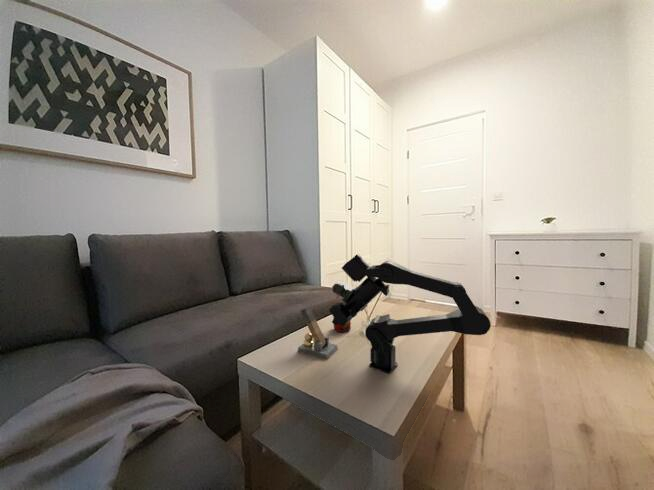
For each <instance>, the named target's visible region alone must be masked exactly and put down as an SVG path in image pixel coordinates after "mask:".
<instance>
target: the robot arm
mask: <svg viewBox="0 0 654 490" xmlns="http://www.w3.org/2000/svg"><path fill="white" fill-rule="evenodd" d="M341 270H343V272H344V273H345V274H346V275H347V276H348V277H349V278H350V279H351V281H352V282H354V283H357V282H358V283H360V282H361V283H360V284H359V285H358V286H356V287H354V286H353V285H351V284H349V283H347V282H345V281H344V280H342V279H340V280H338V281H337V280H336V282H335V283H334V284H333V285H332V286H331V287H332V291H331V292H333V293H334V294H336V295H337V294H338V296H339V295H340V296H339V297H341V298H342V301H341V302H340V303H338V302H336V303H334V304H333V305H331V306H330V307H329V309H328V311H329V313H330V314H331V316H333V317H334V319H332V321H331V323H332V324H333V325H334V324H338V323H339V324H340V325H341V326H344V325H345V324H346V323H348V322H349V321H350V320H351V321H352V319H353V318H355V317H356V316H357V315H358V313H360V312H363V311H365V310H366V308H367V307H368V304H369V303H371V302H372V301H373V299H375V298H376V297H377V296H378V295H379V294H381V293H382V294H383V295H384V296H385V297H387V296H388V295H389V293H390V284H393V285H407V286H411V287H414V288H418V289H421V290H425V291H428V292H432V293H435V294H437V295H440V296H445V297H449V298H451V299H453V301H454V303H455V304H456V306H457V309H455V310H453V311H451V312H449V313H447V314H438V315H430V316H428V315H427V316H421V317H414V318H413V317H412V318H405V319H403V318H402V319H394V318H391V315H390V314H389V313H388V314H384V315H376V316H375V317H374V318H372V319H371V321H370V322H369V324H368V325H367V327H366V329H365V337H366V339H367V340H368V341H369V342H370V345H371V348H370V353H369V354H370V362H369V365H368V367H369V368H372V369H375V370H378V371H380V372H384V373H386V374H391V372H393V370H394V369H395V368H396V367H397V366H398V362H397V361H396V347H397V346H396V345H394V342H395V341H394V340H395V339H396V338H398V337H405V336H415V335H425V334H426V335H427V334H434V333H435V334H436V333H437V334H438V333H446V332H447V333H449V332H453V333H458V334H461V335H469V336H470V335H471V336H482V335H486V334H487V333H488V332H489V331H490V329H491V327H492V326H491V320H490V318H489V317H488V316H487V314H486V313H485V311H484V310H483V309H482V308H480V307H479V306H477V305H475V304H474V303H473V300H472V299H471V297H470V296H469V295H468V293H467V291H466V288H465V286H464V285H463V284H462V283H461V282H460V283H459V282H457V281H454V282H453V281H450V280H446V279H443V278H439V277H435V276H432V275H429V274H424V273H421V272H417V271H413V270H412V269H409V268H407V267H405V266H404V265H401V264H399V263H398V262H395V261H392V260H385V261H384V262H382V263H381V264H377V265H374V264H373V265H371V266H370V265H369V264H368V263H367V261H365V260H364V259H363V257H362V256H361V255H360V254H358V253H357V254H355V255H354V256H353V257H352V258H351V259H350V260H348V261H346V262H345V264H344V265H343V266H342V267H341ZM364 278H365V279H364ZM363 279H364V280H363ZM351 321H350V322H351Z"/></svg>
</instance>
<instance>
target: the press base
mask: <svg viewBox="0 0 654 490" xmlns="http://www.w3.org/2000/svg"><path fill="white" fill-rule="evenodd" d="M323 336H324V338H325V340H326V344H325V345H324V346H323V347H322V343H321V342H317V341H316V342H315V341H314V339H313V337H312V334H311V332H307V333H305V335H304V341H303V343H302V344H301V345H300V346H298V347H297V351H298V353H300V354H305V355H309V356H313V357H315V358H316V357H317V358H321V359H324V360H328V359H329V358H330V357H331V356H332V355H333V354H334V353H335V352H336V351H337V350H338V345H337V344H335V343H330V340H329V339H330V338H329V336H325V335H323Z"/></svg>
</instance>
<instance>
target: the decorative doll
mask: <svg viewBox="0 0 654 490" xmlns="http://www.w3.org/2000/svg"><path fill="white" fill-rule="evenodd" d="M340 297H341V296H340V295H338V294H336V296H333V299H334V300H336V299H337V303H341V301H340ZM333 319H334V317H333ZM333 319H332V320H333ZM351 321H352V319H351V320H350V321H349V322H348V323H346V324H345V325H344V326H341V325H340V324H339V323H338V324H333V328H334V330H335V331H336V332H338V333H342V332H347V331H351V328H352V327H351V324H352V322H351Z"/></svg>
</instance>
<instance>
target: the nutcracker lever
mask: <svg viewBox="0 0 654 490" xmlns="http://www.w3.org/2000/svg"><path fill="white" fill-rule="evenodd" d="M300 312H301V315H302V316H303V319H304V321H305V324H306V326H307V328H308V330H309V333H311V334H312V337H313V340H314V341H315V342H316V341H317V342H321V343H322V347H323V346H324V345H325V344H326V340H325V338H324V336H325V335H324V334H323V331H322V329H321V328H320V326H319V324H318V322H317V319H316V317H315V315H314V313H313V311H312V309H311V307H310V306H307V307H306V308H303V309H301V310H300Z"/></svg>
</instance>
